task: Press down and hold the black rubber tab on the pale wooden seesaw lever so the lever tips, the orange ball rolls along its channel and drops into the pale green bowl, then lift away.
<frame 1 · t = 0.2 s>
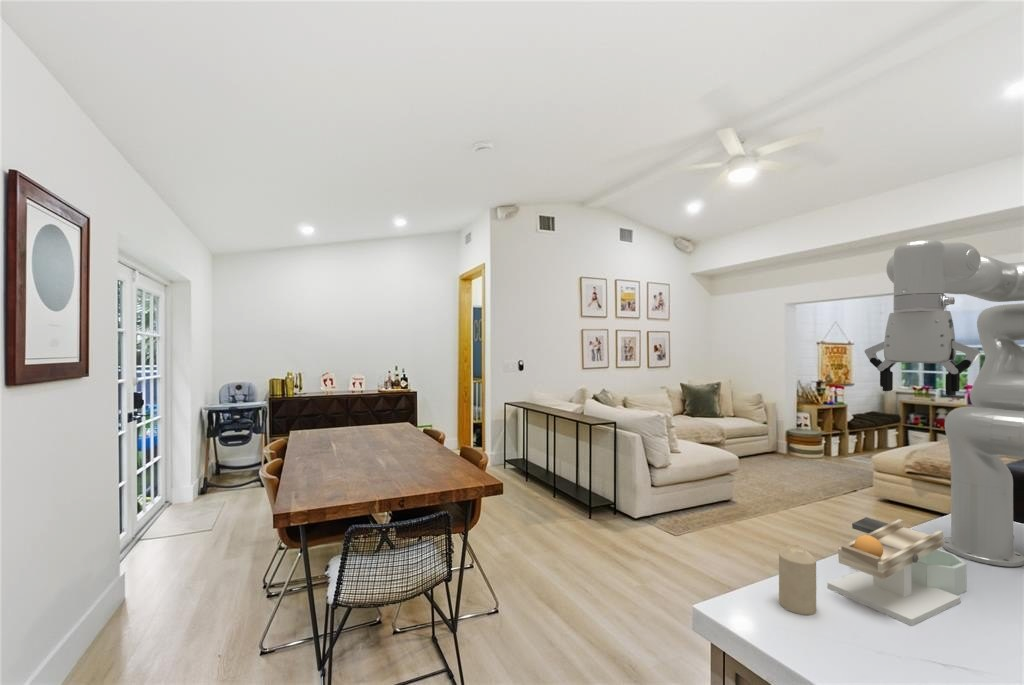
hand: (917, 393, 91), 36 cm above the kitchen island, tool pointing down, fingers open, 9 cm apart
lever stand: (891, 595, 84), on the kitchen island
ball: (868, 547, 81), point 10 cm above the kitchen island, tilted 12°, touching lever
candle: (797, 607, 81), on the kitchen island
pale green bowl: (926, 580, 90), on the kitchen island
lever: (874, 539, 87), point 9 cm above the kitchen island, hinge at 6.0°, touching ball
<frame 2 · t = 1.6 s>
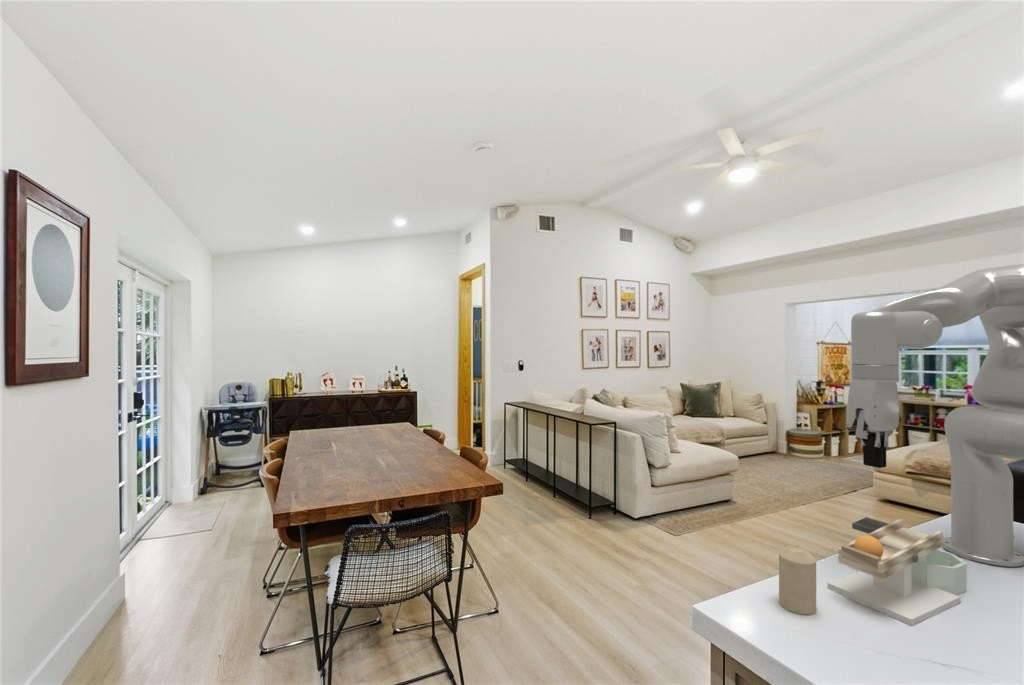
hand: (874, 465, 93), 21 cm above the kitchen island, tool pointing down, fingers closed
nothing on the kitchen island moved.
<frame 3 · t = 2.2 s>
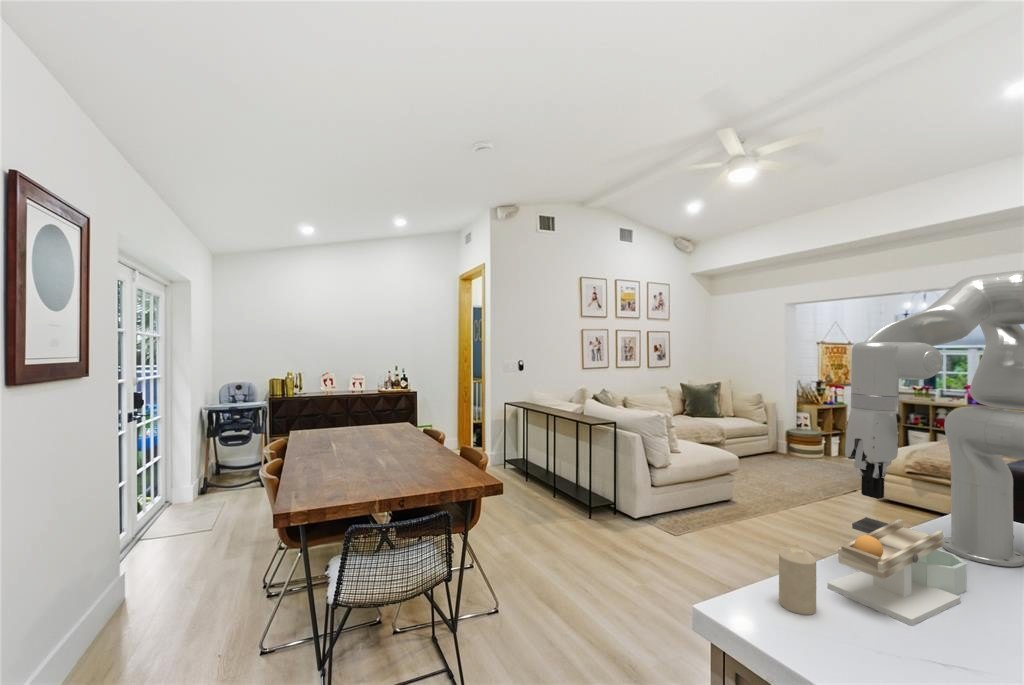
hand: (872, 496, 93), 15 cm above the kitchen island, tool pointing down, fingers closed
nothing on the kitchen island moved.
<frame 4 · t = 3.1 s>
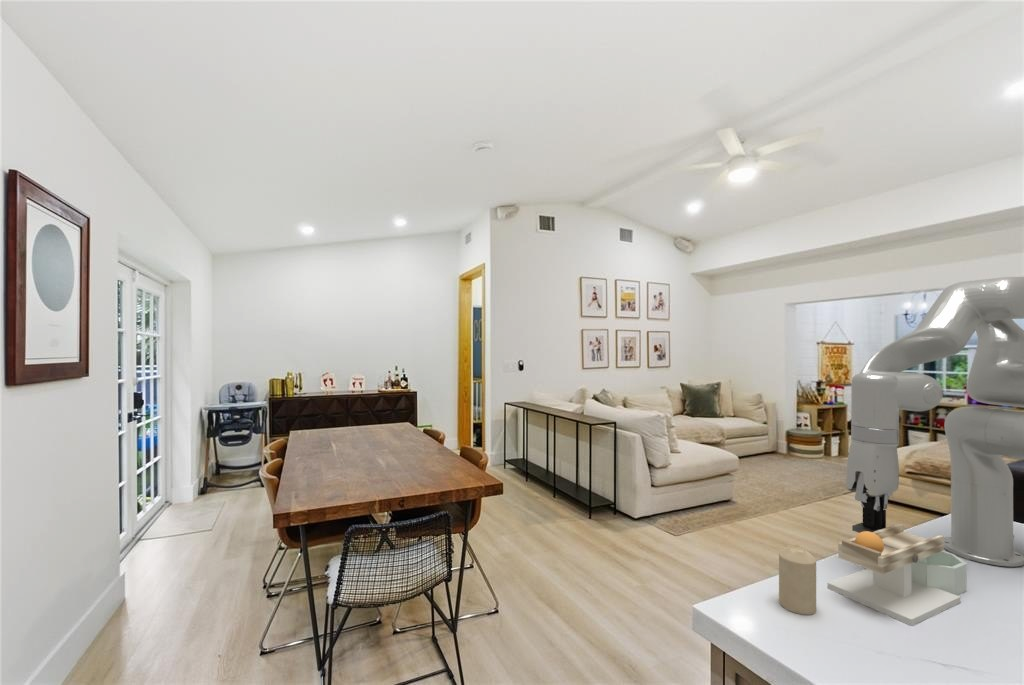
hand: (874, 528, 93), 9 cm above the kitchen island, tool pointing down, fingers closed
ball: (869, 543, 82), point 11 cm above the kitchen island, tilted 7°, touching lever
lever: (874, 539, 87), point 9 cm above the kitchen island, hinge at 0.7°, touching ball, gripper
everything else where it was.
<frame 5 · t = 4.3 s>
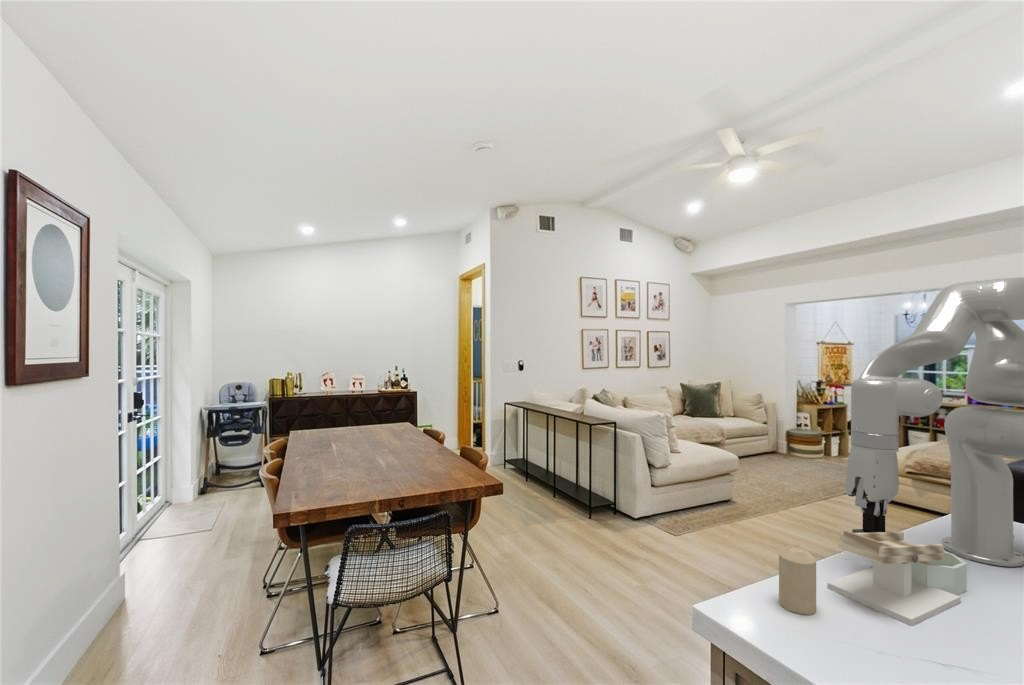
hand: (873, 533, 93), 8 cm above the kitchen island, tool pointing down, fingers closed
ball: (919, 569, 89), point 3 cm above the kitchen island, tilted 80°, touching pale green bowl
lever: (875, 539, 87), point 9 cm above the kitchen island, hinge at -8.9°, touching gripper
everything else where it was.
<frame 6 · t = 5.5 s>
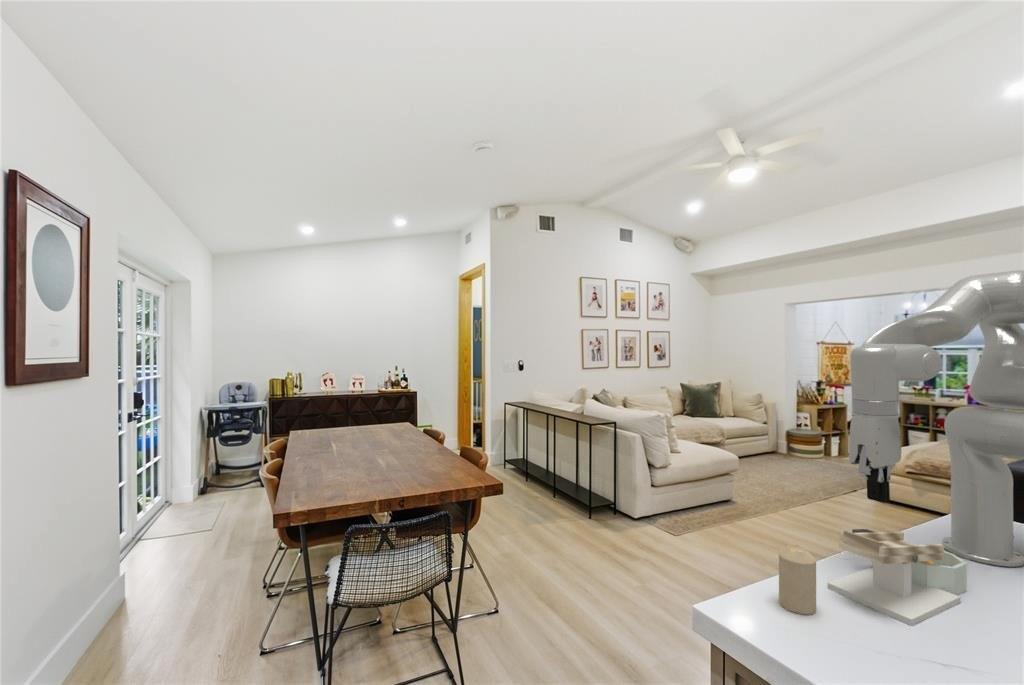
hand: (878, 499, 93), 14 cm above the kitchen island, tool pointing down, fingers closed
ball: (923, 568, 89), point 3 cm above the kitchen island, tilted 117°, touching pale green bowl
lever: (875, 539, 87), point 9 cm above the kitchen island, hinge at -8.9°
everything else where it was.
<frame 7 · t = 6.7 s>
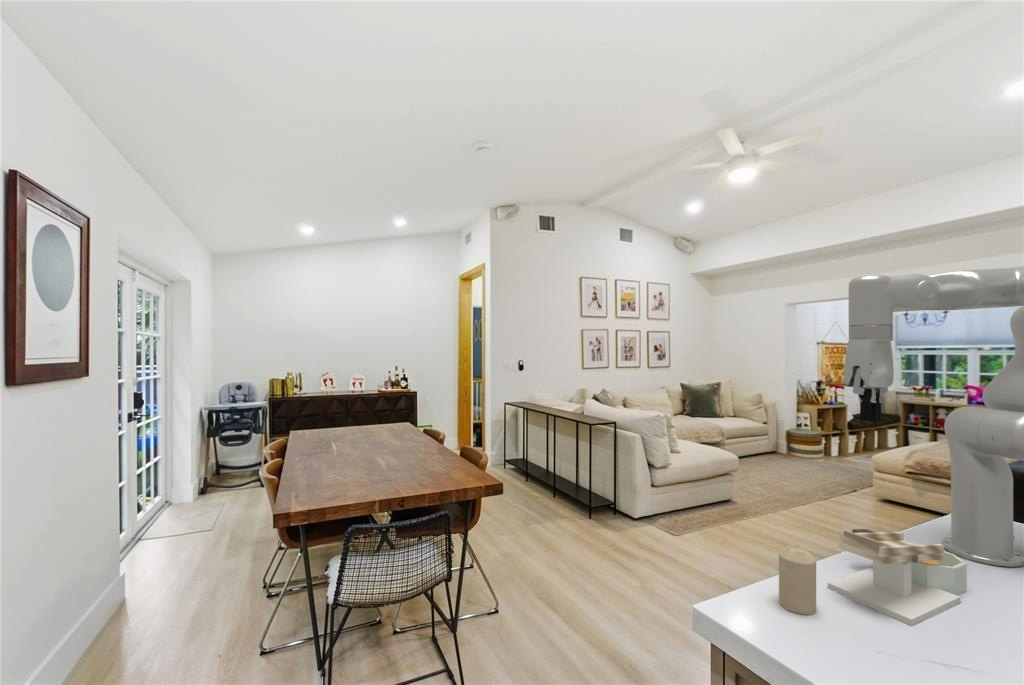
hand: (870, 420, 99), 29 cm above the kitchen island, tool pointing down, fingers closed
ball: (927, 567, 90), point 3 cm above the kitchen island, tilted 155°, touching pale green bowl
everything else where it was.
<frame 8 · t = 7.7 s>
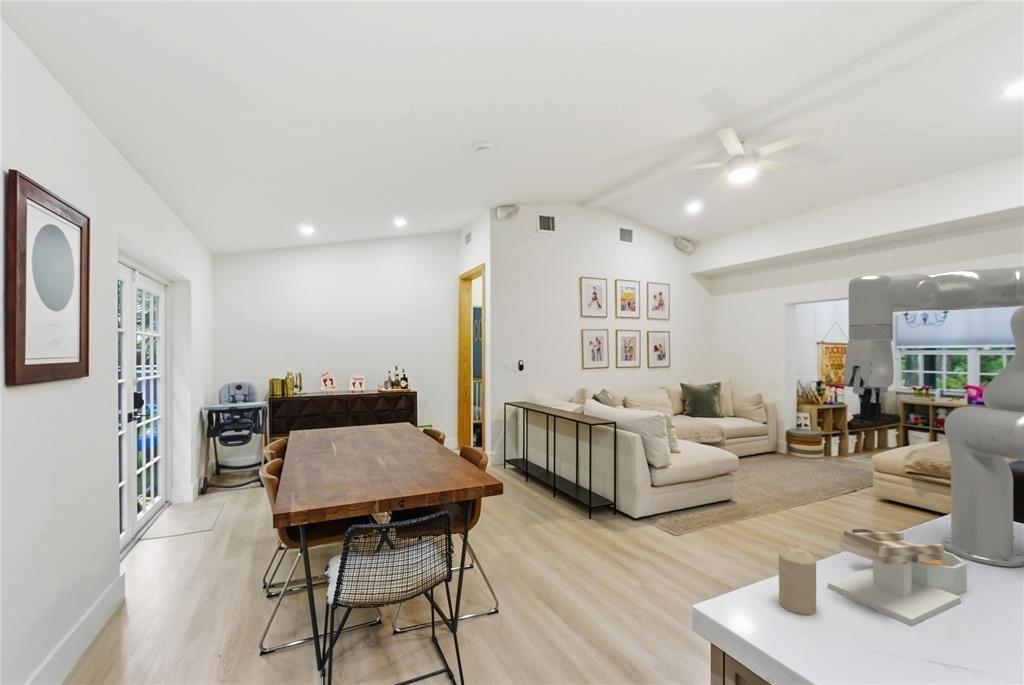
hand: (870, 420, 99), 29 cm above the kitchen island, tool pointing down, fingers closed
ball: (930, 565, 90), point 3 cm above the kitchen island, tilted 174°, touching pale green bowl
everything else where it was.
at the end: ball inside the target area on the pale green bowl (1.5 cm from its centre), point 2.6 cm above the pale green bowl's base; lever at -9° (first picture: +6°) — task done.
